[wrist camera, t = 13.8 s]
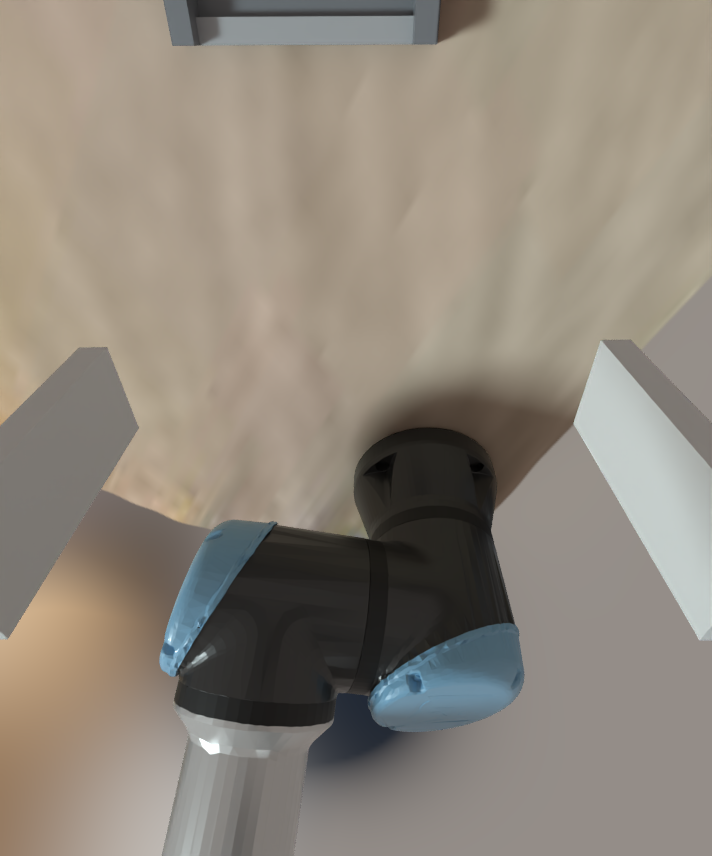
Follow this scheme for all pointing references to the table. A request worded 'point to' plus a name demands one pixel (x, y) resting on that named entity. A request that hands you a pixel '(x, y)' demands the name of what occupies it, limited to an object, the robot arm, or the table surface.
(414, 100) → the table surface
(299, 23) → the pusher lane
